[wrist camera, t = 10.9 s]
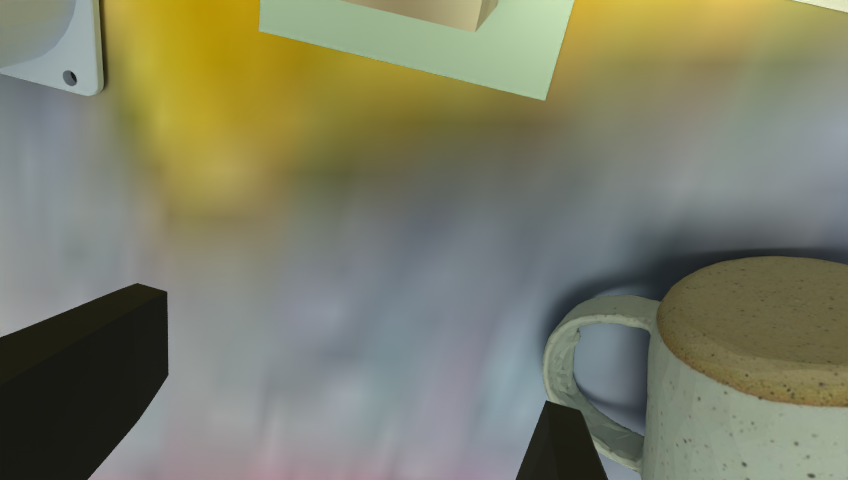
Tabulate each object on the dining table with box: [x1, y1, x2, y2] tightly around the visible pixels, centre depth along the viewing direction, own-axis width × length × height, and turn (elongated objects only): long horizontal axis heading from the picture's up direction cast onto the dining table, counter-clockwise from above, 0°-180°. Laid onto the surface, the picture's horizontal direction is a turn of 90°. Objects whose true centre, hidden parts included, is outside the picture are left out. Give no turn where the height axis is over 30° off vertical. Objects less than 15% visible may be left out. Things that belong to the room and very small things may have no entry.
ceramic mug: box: [543, 256, 848, 480], centre depth 18 cm, size 11×8×8 cm
